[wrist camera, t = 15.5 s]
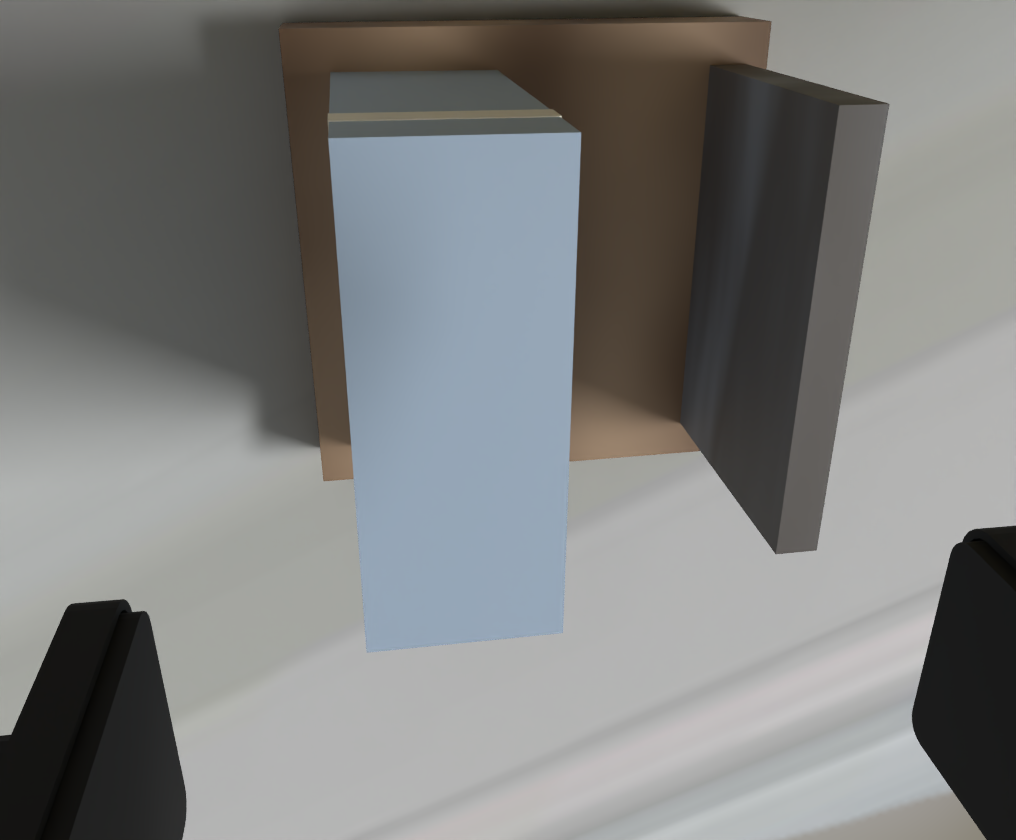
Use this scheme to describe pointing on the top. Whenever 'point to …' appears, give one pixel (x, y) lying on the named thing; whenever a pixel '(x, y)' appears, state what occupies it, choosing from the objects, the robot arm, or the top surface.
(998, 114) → the top surface
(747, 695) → the top surface
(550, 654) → the top surface
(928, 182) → the top surface
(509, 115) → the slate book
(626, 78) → the brown l-shaped piece
